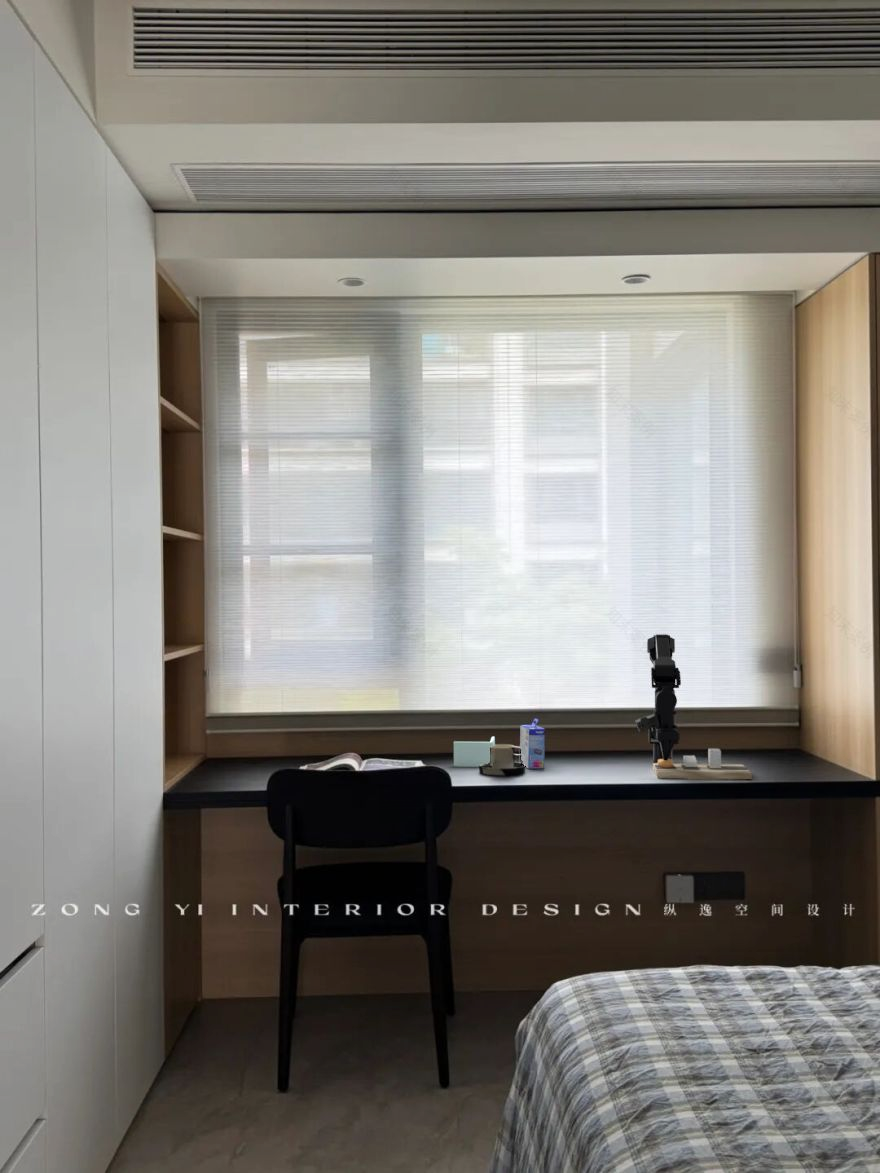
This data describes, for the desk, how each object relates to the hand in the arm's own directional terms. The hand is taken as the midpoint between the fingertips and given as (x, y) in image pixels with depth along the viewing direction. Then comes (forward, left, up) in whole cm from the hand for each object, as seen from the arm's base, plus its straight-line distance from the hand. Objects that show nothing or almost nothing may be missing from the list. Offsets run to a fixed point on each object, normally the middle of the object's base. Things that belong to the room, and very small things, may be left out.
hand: (665, 760), depth 284 cm
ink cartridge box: (-10, -39, -4) cm, 41 cm away
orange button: (0, 0, -2) cm, 2 cm away
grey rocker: (0, +7, -1) cm, 7 cm away
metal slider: (0, +14, -2) cm, 14 cm away
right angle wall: (-14, -57, -4) cm, 59 cm away
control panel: (0, +10, -4) cm, 11 cm away
